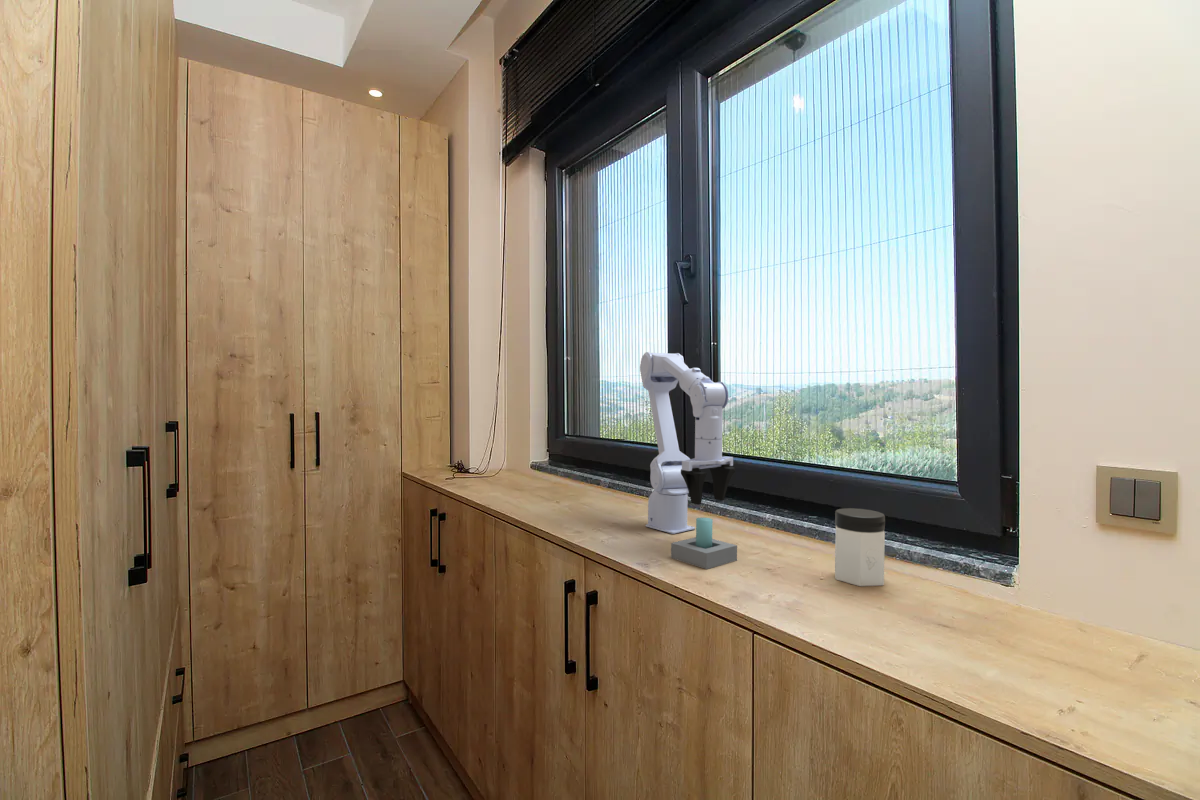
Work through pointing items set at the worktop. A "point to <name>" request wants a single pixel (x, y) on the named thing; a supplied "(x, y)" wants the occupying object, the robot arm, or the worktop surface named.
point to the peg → (704, 532)
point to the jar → (859, 547)
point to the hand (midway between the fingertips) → (707, 501)
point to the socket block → (704, 553)
